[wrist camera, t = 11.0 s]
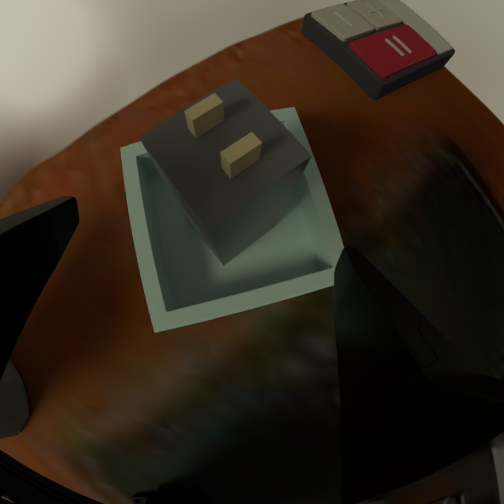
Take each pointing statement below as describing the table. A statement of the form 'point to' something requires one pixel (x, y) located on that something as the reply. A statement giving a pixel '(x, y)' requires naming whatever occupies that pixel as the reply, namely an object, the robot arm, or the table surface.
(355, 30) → the calculator
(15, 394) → the coffeepot
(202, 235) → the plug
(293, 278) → the walled box
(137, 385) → the table surface
